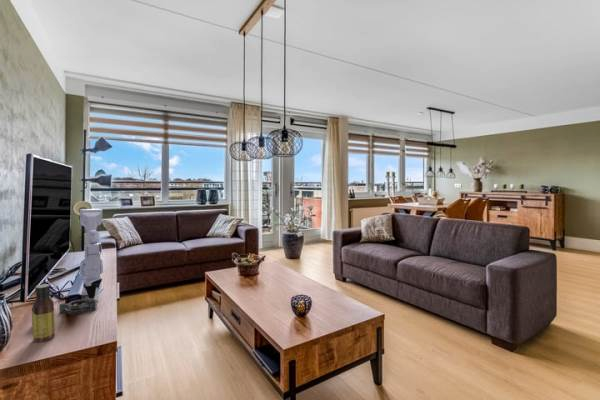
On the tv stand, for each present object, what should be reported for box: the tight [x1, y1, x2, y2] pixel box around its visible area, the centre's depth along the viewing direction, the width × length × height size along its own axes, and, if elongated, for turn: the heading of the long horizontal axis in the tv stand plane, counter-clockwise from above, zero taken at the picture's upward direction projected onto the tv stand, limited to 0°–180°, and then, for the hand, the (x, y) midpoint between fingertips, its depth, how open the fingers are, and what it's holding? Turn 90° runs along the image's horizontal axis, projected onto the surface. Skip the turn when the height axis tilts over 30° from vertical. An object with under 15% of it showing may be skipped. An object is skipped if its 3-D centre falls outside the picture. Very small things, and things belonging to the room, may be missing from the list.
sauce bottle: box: [31, 283, 56, 343], centre depth 111 cm, size 7×6×20 cm
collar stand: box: [58, 299, 98, 316], centre depth 136 cm, size 8×14×4 cm, turn 109°
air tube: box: [87, 287, 99, 304], centre depth 145 cm, size 4×4×7 cm
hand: (93, 296), depth 145 cm, fingers closed on air tube, 4 cm apart
